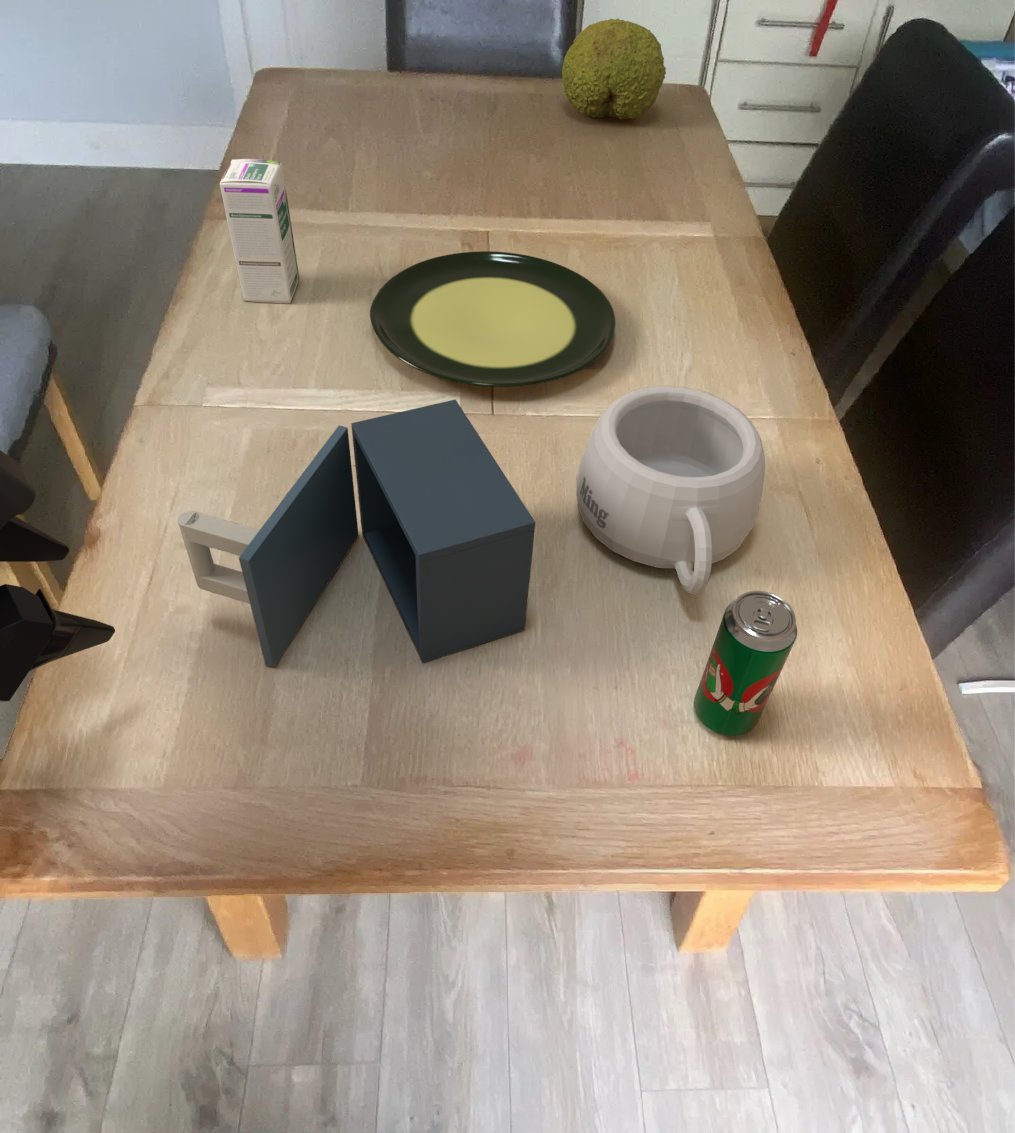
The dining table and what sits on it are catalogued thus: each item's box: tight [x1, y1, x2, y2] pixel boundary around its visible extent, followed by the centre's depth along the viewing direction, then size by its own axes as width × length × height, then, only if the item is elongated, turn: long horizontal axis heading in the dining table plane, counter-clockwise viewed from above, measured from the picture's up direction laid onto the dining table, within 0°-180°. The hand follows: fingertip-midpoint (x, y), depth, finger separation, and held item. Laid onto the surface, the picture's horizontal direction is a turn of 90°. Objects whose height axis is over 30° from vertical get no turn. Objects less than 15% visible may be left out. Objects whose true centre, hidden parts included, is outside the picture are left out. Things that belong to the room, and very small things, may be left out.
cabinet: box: [350, 399, 536, 664], centre depth 73 cm, size 9×16×13 cm, turn 24°
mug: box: [576, 385, 766, 595], centre depth 80 cm, size 21×17×10 cm
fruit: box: [561, 17, 667, 121], centre depth 145 cm, size 16×14×15 cm
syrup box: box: [218, 158, 300, 304], centre depth 103 cm, size 6×6×14 cm
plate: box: [369, 250, 616, 388], centre depth 104 cm, size 28×28×2 cm
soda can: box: [693, 590, 798, 737], centre depth 66 cm, size 5×5×12 cm
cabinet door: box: [177, 425, 360, 668], centre depth 72 cm, size 7×16×12 cm, turn 161°
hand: (88, 592), depth 64 cm, fingers open, 9 cm apart
